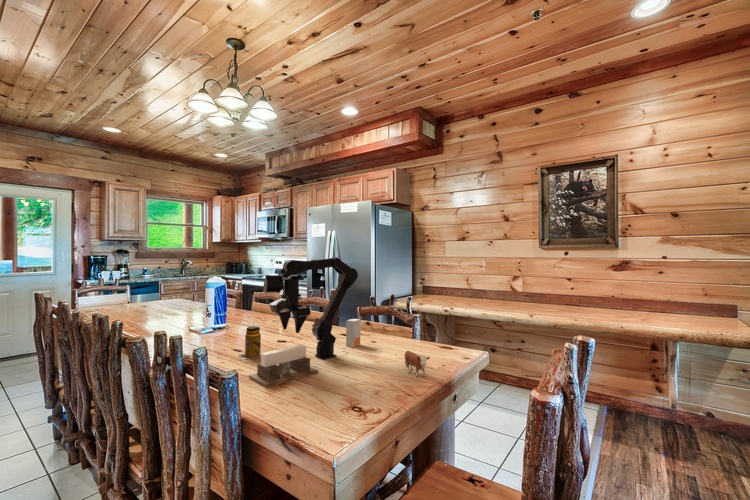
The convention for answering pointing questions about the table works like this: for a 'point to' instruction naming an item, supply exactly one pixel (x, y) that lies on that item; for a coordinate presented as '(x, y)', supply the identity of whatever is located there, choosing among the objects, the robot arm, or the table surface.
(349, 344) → the skincare box
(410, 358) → the bull figurine
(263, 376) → the display stand
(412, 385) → the table surface
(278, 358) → the frame bar
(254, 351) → the condiment
